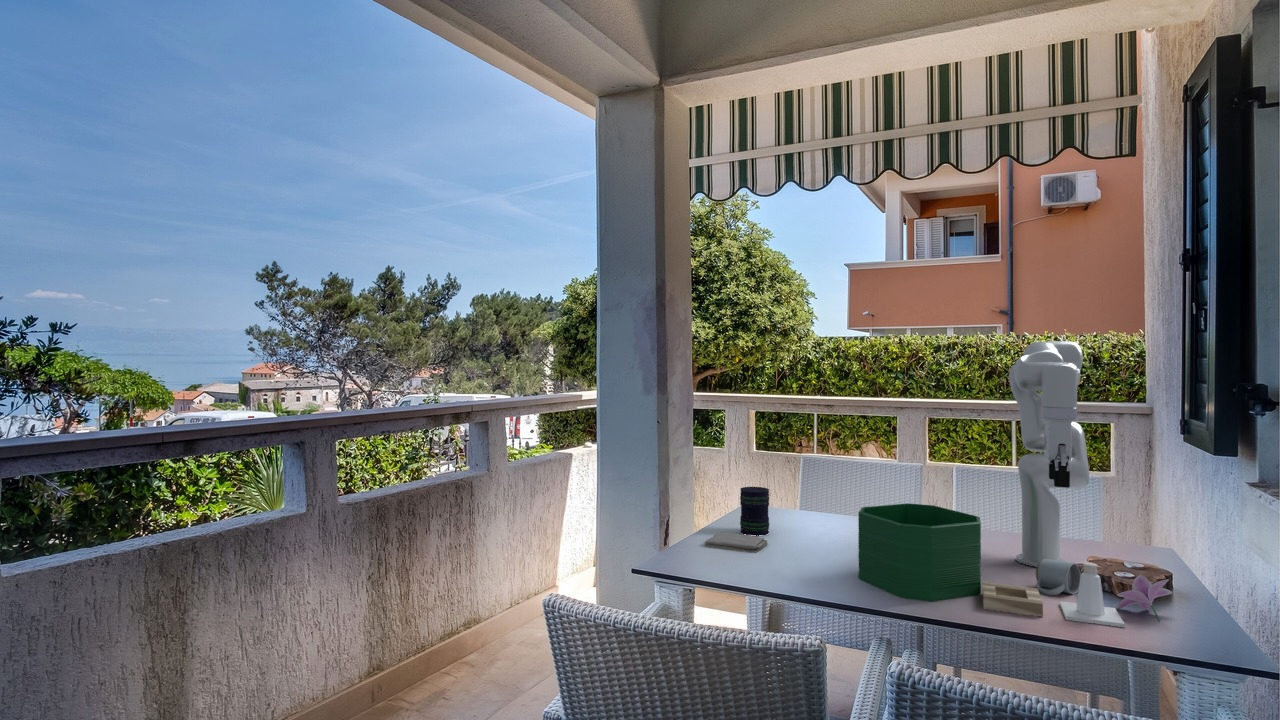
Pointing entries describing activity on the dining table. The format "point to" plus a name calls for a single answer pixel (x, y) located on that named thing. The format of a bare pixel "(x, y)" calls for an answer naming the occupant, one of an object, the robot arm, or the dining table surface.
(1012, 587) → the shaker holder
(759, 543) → the washcloth
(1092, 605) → the pepper shaker
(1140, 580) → the lily
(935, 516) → the planter
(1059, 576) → the ceramic mug
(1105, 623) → the ceramic coaster
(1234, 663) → the dining table surface
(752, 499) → the storage jar
